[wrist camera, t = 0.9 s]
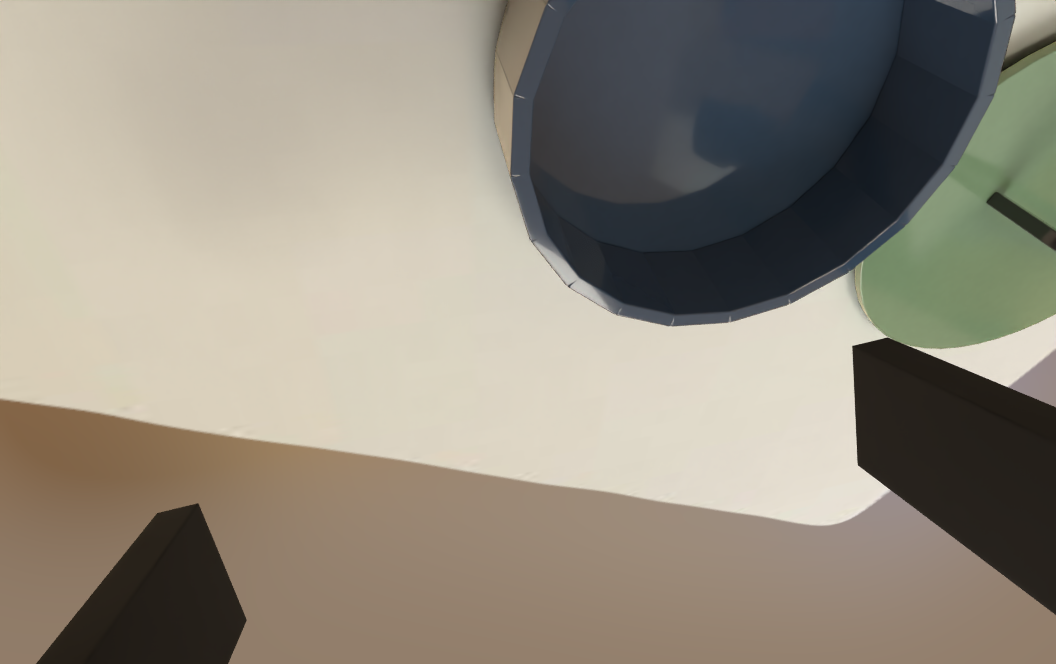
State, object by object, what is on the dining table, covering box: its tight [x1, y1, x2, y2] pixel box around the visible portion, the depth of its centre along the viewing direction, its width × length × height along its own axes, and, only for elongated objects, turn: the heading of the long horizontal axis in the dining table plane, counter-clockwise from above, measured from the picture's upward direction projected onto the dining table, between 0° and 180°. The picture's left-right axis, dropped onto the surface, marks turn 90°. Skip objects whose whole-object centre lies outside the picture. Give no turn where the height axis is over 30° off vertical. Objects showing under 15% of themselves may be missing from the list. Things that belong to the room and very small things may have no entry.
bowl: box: [493, 0, 1016, 326], centre depth 24 cm, size 18×18×6 cm
